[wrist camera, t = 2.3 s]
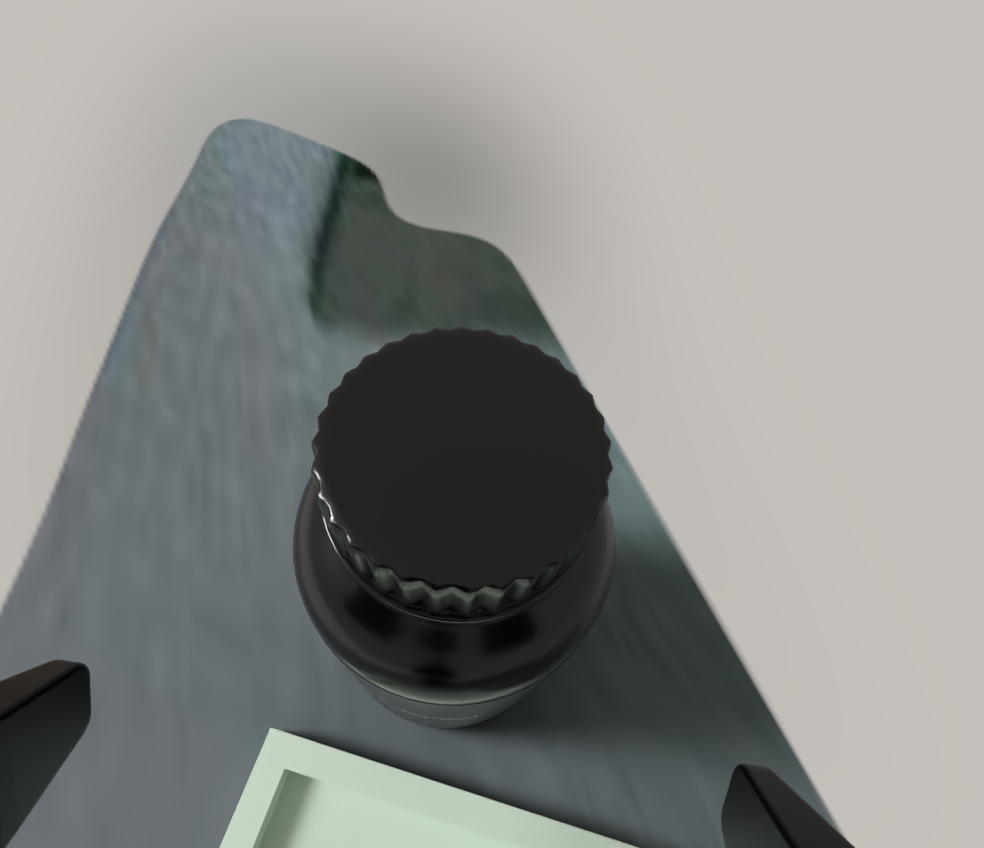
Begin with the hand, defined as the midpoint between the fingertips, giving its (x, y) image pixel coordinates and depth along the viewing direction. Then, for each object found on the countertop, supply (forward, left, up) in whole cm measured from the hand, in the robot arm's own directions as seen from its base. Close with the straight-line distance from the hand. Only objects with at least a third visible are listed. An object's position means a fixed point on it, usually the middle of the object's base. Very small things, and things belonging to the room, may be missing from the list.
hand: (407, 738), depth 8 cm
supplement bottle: (+4, +1, -11) cm, 12 cm away
